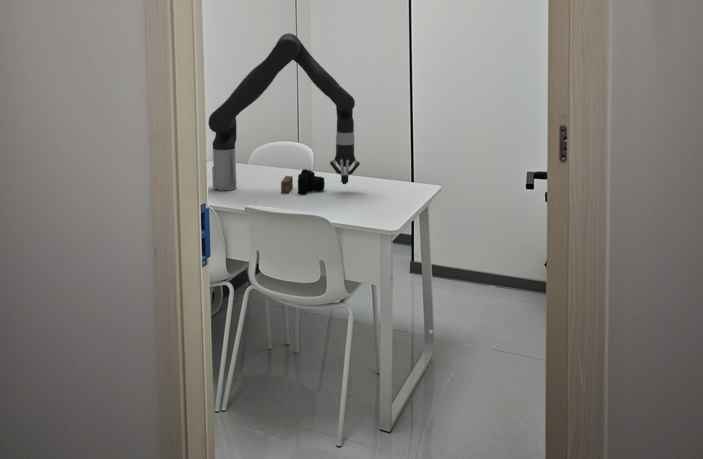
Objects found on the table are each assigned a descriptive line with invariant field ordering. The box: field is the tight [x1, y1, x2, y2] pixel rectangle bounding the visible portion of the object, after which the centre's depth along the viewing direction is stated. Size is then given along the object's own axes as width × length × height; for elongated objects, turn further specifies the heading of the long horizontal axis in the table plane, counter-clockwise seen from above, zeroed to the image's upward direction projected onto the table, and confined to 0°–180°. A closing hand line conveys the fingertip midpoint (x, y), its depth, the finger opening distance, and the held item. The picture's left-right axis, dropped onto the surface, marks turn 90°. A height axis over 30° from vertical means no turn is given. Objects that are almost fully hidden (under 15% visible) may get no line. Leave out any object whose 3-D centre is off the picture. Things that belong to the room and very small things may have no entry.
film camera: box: [297, 168, 326, 196], centre depth 308 cm, size 15×10×9 cm, turn 168°
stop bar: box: [280, 175, 294, 195], centre depth 309 cm, size 3×11×5 cm, turn 175°
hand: (344, 183), depth 307 cm, fingers closed
